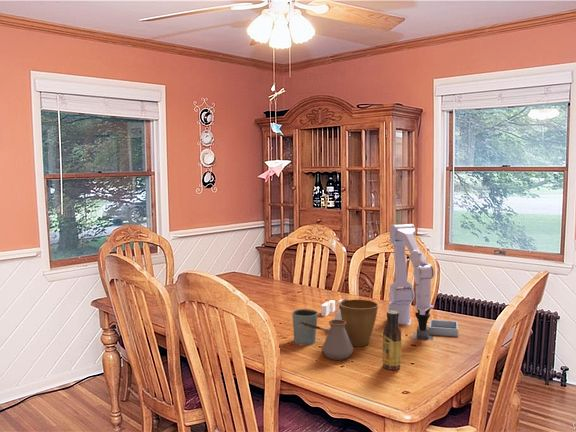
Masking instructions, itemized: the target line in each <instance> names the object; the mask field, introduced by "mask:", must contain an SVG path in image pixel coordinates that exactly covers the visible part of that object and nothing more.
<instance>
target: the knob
mask: <svg viewBox="0 0 576 432" xmlns="http://www.w3.org/2000/svg"><path fill="white" fill-rule="evenodd" d="M416 333H417V338H427V339H429V326H428V325H426V330H425V331H420V329H419V325H418V326H416Z"/></svg>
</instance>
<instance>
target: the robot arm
mask: <svg viewBox="0 0 576 432" xmlns="http://www.w3.org/2000/svg"><path fill="white" fill-rule="evenodd" d="M415 237H416V227H415V225H414V224H413V223H405V224H391V226H390V229H389V240H390V243H391V244H393V257H394V258H393V259H394V275H395V276H394V277H395V280H394V282H393V283H391V284H390V285H389V292H388V298H389V300H390V302H389V303H388V309H387V311H390V310H393V311H398V312H399V316H398V325H411V322H412V319H411V304H412V302H413V301H414V299H415V308H416V311H417V312H415V313H414V314H415V317H416V320H417V323H418V326H419V329H420V331H425V330H426V325H427V324H428V320H429V319H430V317H431V314H430V311H431V309H434V306H435V305H433V304H432V303H431V299H432V297H431V295H432V292H431V290H432V289H431V287H432V279H433V278H434V274H435V271H434V267H433V265H432V264H430V262H427V260H426V257H425V255H424V253H423V251H422V250H419V248H418V244H417V241H416V238H415ZM406 248H407V249H408V252H409V253H410V254H409V256H408V258H409V260H410V263H411V265H412V267H413V277H414V283H415V291H414V287H413V286H414V285H413V284H412V283H410V282H409V281H408V274H407V259H406V257H407V256H406ZM427 326H428V325H427Z"/></svg>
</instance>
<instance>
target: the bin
mask: <svg viewBox="0 0 576 432" xmlns="http://www.w3.org/2000/svg"><path fill="white" fill-rule="evenodd" d="M428 327H429V334H433V336H434V335H435V336H446V337H458V336H459V323H458V321H456V320H441V319H440V320H439V319H430V320H429V326H428Z"/></svg>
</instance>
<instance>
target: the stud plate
mask: <svg viewBox="0 0 576 432" xmlns="http://www.w3.org/2000/svg"><path fill="white" fill-rule="evenodd" d="M411 339H412V340H422V341H423V340H424V341H434V335H433V334H429V339H427V338H417V332H413V333H412V338H411Z"/></svg>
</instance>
